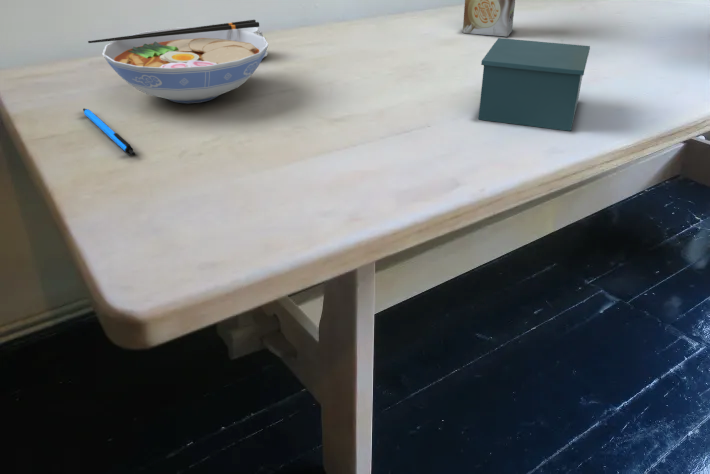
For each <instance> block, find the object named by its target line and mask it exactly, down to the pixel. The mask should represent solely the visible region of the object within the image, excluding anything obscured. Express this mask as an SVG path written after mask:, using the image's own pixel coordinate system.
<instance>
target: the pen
mask: <svg viewBox="0 0 710 474" xmlns="http://www.w3.org/2000/svg"><path fill="white" fill-rule="evenodd" d="M82 110H83V114H84V116H85V117H87V118H88V119H89V120H90V121H91V122H92V123H93V124H94V125H95V126H97V127H98V129H100V130H101V131H102V133H104V134H105V135H106V136H107V137H108V138H110V140H111V141H113V142H114V143H115V144H116V145H117V146H118V147H120V148H121V149H122V150H123V151H124V152H125V153H126V154H128V155H132V156H135V155H136V152H134V148H133V147H132V146H131V144H130V143H129V142H127V140H125V139H124V138H123V137H122V136H121V135H120V134H119V133H118V132H116V131H114V130H113V129H112V128H111V127H109V125H107V124H106V123H105V122H104V121H103V120H102V119H101V118H99V116H97V115H96V114H95V113H94V112H93V111H92V110H90V109H88V108H83V109H82Z"/></svg>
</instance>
